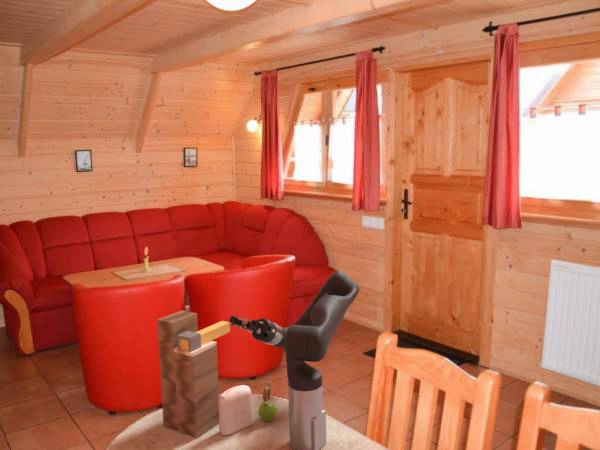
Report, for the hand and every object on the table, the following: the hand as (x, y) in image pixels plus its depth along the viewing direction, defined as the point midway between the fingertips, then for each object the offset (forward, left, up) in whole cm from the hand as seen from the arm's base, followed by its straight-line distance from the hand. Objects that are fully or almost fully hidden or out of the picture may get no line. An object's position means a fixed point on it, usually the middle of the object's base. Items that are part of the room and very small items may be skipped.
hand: (241, 320), depth 172 cm
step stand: (+3, +21, -26) cm, 34 cm away
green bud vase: (-14, +7, -26) cm, 31 cm away
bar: (0, +16, -1) cm, 17 cm away
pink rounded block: (-9, +16, -26) cm, 32 cm away
